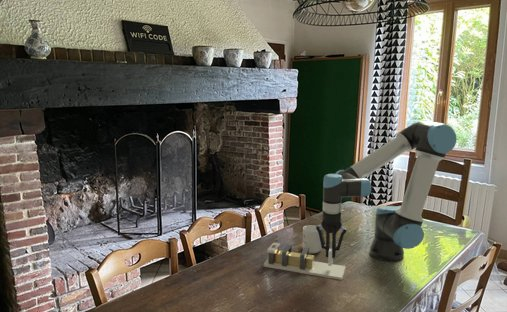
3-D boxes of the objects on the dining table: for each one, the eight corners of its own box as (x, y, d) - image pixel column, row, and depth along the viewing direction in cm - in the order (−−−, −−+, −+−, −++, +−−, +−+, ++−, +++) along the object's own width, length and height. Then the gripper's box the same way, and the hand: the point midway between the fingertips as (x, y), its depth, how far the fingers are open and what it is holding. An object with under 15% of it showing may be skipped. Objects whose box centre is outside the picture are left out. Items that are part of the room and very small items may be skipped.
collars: (308, 261, 174) (309, 247, 173) (304, 269, 166) (304, 255, 165) (273, 255, 180) (273, 242, 179) (267, 263, 172) (267, 249, 171)
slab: (345, 268, 170) (345, 266, 169) (341, 280, 160) (342, 277, 159) (271, 256, 182) (271, 254, 181) (263, 266, 171) (263, 264, 171)
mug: (324, 252, 186) (325, 230, 184) (308, 255, 182) (309, 233, 180) (311, 243, 197) (311, 222, 195) (295, 246, 193) (296, 224, 191)
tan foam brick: (314, 264, 171) (314, 254, 170) (311, 268, 167) (312, 258, 166) (270, 257, 178) (270, 247, 177) (267, 261, 174) (267, 251, 173)
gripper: (349, 210, 163) (347, 263, 167) (318, 207, 168) (317, 258, 172) (346, 215, 156) (344, 270, 160) (314, 212, 161) (313, 265, 165)
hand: (330, 264), depth 166 cm, fingers closed
